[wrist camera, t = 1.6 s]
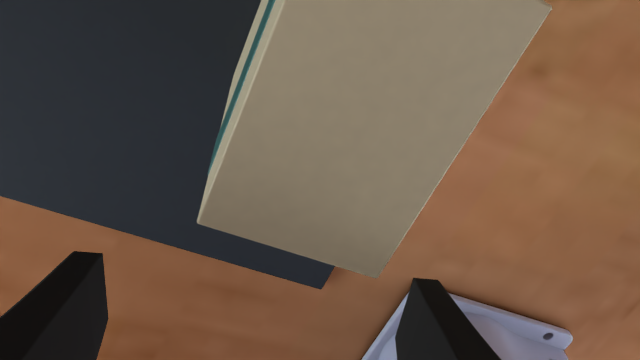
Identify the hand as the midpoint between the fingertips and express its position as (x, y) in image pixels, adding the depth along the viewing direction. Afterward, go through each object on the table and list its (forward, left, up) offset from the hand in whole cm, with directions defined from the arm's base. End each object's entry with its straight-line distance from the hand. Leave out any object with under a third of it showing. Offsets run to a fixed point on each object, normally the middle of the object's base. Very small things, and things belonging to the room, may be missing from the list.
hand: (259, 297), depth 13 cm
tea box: (0, -5, -9) cm, 10 cm away
